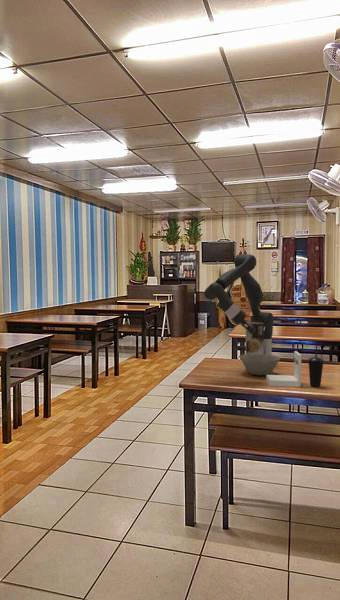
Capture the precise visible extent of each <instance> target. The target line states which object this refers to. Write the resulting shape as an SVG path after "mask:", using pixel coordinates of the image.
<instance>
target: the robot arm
mask: <svg viewBox="0 0 340 600" xmlns="http://www.w3.org/2000/svg"><path fill="white" fill-rule="evenodd" d="M233 263H234V268H231V269H229V270H227V271H225V272H224V273H222V274H221V275H220V276H219V277H218V278H217V279H216V280H215V281H214V282H212V283H211V284H209V285H208V286H207V287H206V288H205V289H204V297H205V299H207V300H210V301H213V300H215V299H217V300H218V302H217V306H218V308H219V309H220V310H221V311H223V313H224V314H225V315H226V316H227V318H229V319H230V321H232V323H234V324H235V326H237V325H239V324H241V327H242V328H243V329H245V331H246V330H247V331H249V330H250V329H252V330H251V331H249V332H250V334H252V335H253V336H254V337H255V338H256V339H258V338H259V337H260V336H259V335H258V334H257V333H256V332H255V330H254V329H253V328H252V326H250V325H249V322H250V321H248V320H247V319H246V317H247V314H246V312H244V310H242V309H241V307H239V306H238V305H237V304H236V303H235V302H234V301H233V300H232V299H231V298H230V297H229V296H228V294H227V292H226V291H225V290H226V289H228V288H229V287H230V286H231V285H232V284H234V282H236V281H237V280H238V279H240V281H241V283H242V286H243V288H244V293H245V295H246V298H247V300H248V303H249V306H250V310H251V314H252V319H253V322H263V324H264V354H268V355H272V352H273V351H272V347H273V345H272V344H273V343H272V342H273V330H274V315H273V313H271V312H266V311H264V312H262V311H261V310H260V304H261V302H262V301H263V298H264V297H263V295H264V294H263V291H262V288H261V285H260V283H259V282H258V280H257V279H255V277H253V276H252V274H251V273H250V272H252V271H253V270H254V269H255V268H256V266H257V257H256V256H255V255H253V254H247V253H246V254H244V253H239V254H236V256H235V257H234V262H233Z"/></svg>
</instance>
